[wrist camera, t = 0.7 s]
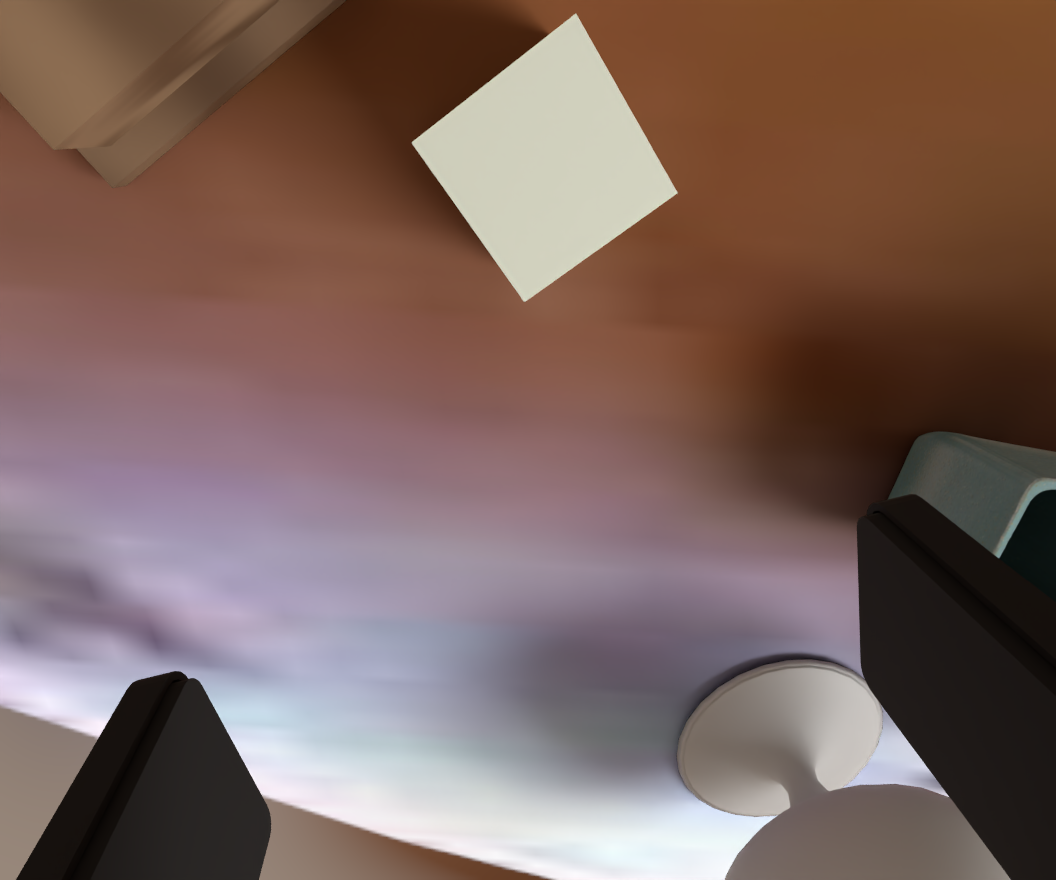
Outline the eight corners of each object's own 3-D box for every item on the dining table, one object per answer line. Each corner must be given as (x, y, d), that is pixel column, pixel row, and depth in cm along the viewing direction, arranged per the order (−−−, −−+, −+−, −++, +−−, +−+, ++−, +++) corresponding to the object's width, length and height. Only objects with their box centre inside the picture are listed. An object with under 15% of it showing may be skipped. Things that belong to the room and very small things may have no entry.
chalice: (905, 781, 44) (1105, 1078, 30) (688, 845, 45) (787, 1164, 31) (881, 609, 38) (1115, 880, 24) (632, 686, 39) (724, 991, 25)
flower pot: (824, 549, 36) (929, 673, 28) (894, 389, 33) (1037, 477, 25) (974, 571, 38) (1117, 695, 29) (1056, 419, 34) (1243, 512, 26)
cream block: (551, 36, 26) (576, 13, 20) (635, 179, 28) (677, 192, 23) (421, 138, 27) (411, 142, 21) (512, 268, 29) (524, 302, 24)
